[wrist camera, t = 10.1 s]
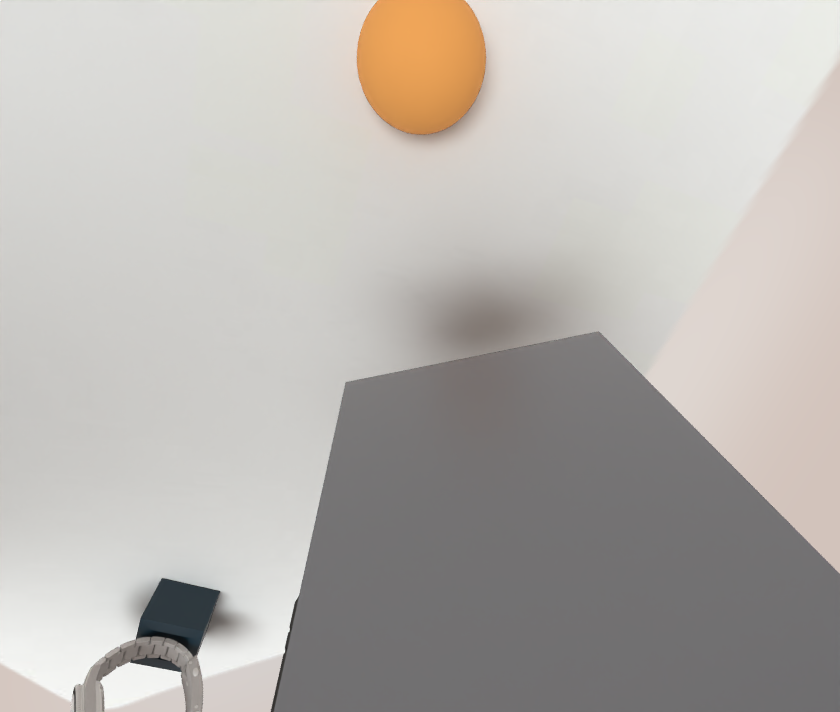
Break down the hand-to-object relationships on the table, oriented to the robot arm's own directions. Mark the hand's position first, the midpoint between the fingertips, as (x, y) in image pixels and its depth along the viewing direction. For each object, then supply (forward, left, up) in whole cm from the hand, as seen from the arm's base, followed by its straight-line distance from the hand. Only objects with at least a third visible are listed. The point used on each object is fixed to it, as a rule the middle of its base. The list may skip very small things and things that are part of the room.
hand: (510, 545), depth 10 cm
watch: (-25, -20, -16) cm, 36 cm away
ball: (+1, +11, -14) cm, 18 cm away
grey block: (0, 0, -3) cm, 3 cm away
